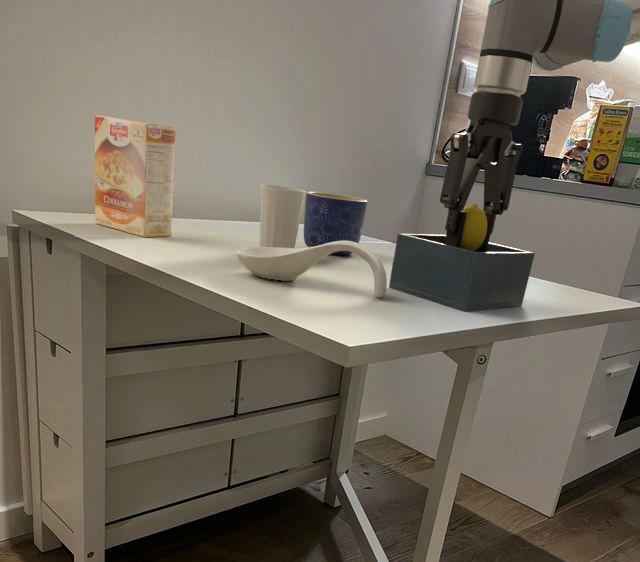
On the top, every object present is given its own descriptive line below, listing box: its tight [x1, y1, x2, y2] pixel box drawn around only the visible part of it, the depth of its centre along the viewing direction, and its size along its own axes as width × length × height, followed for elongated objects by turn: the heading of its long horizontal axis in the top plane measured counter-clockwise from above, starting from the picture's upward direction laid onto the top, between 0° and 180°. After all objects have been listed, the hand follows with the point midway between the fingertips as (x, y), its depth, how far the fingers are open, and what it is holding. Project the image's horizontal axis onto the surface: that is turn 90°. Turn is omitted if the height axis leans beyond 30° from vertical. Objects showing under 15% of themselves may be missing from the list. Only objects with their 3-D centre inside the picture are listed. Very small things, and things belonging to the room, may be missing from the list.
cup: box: [259, 184, 306, 248], centre depth 120 cm, size 8×8×12 cm
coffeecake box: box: [94, 115, 177, 238], centre depth 125 cm, size 15×7×20 cm, turn 53°
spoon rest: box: [235, 241, 388, 298], centre depth 101 cm, size 24×12×7 cm, turn 75°
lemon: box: [460, 203, 487, 251], centre depth 105 cm, size 6×6×8 cm
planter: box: [303, 191, 368, 256], centre depth 135 cm, size 12×12×11 cm
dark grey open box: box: [388, 233, 535, 312], centre depth 107 cm, size 16×16×9 cm
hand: (464, 253), depth 106 cm, fingers closed on lemon, 5 cm apart
